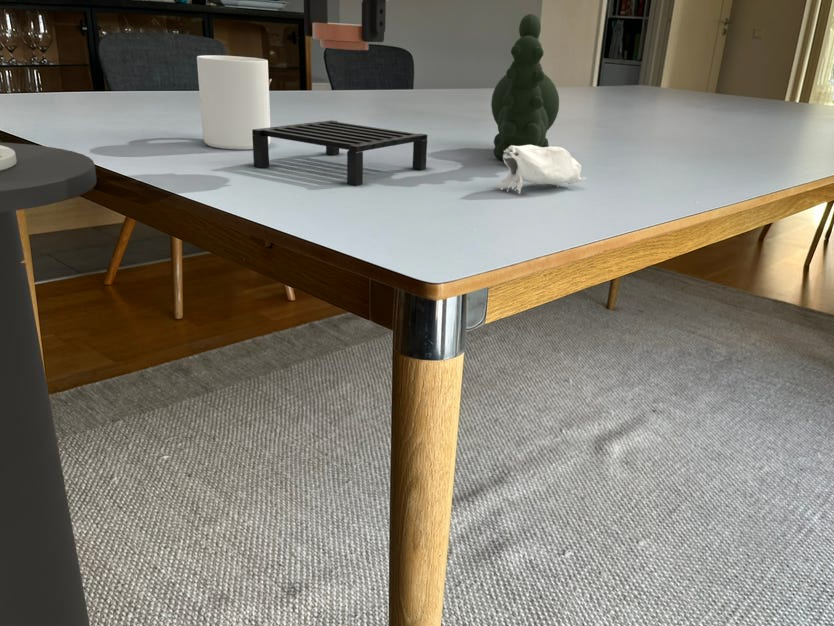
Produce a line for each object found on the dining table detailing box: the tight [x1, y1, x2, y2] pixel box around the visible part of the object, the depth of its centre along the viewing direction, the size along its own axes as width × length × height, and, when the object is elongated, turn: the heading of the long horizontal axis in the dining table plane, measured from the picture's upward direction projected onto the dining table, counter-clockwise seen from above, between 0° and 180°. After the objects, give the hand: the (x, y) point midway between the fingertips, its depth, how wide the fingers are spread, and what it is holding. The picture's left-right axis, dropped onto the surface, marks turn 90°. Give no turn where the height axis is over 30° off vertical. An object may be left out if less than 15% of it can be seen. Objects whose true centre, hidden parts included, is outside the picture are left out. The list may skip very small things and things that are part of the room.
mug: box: [196, 54, 272, 151], centre depth 97 cm, size 12×8×10 cm
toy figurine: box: [490, 13, 560, 161], centre depth 101 cm, size 9×19×25 cm
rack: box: [252, 119, 428, 186], centre depth 88 cm, size 14×14×4 cm
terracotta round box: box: [311, 22, 375, 51], centre depth 82 cm, size 7×7×2 cm
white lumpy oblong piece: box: [499, 145, 587, 195], centre depth 84 cm, size 5×7×10 cm
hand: (344, 37), depth 82 cm, fingers closed on terracotta round box, 6 cm apart
